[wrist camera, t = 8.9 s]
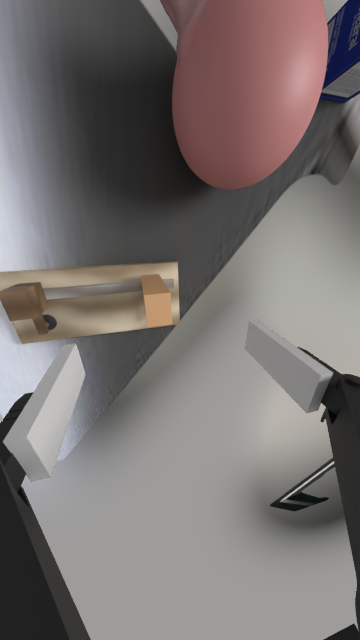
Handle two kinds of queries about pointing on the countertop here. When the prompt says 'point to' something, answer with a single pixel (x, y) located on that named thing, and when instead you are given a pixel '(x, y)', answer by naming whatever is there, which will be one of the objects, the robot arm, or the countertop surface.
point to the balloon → (245, 83)
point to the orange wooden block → (156, 300)
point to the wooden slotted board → (82, 299)
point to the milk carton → (343, 54)
